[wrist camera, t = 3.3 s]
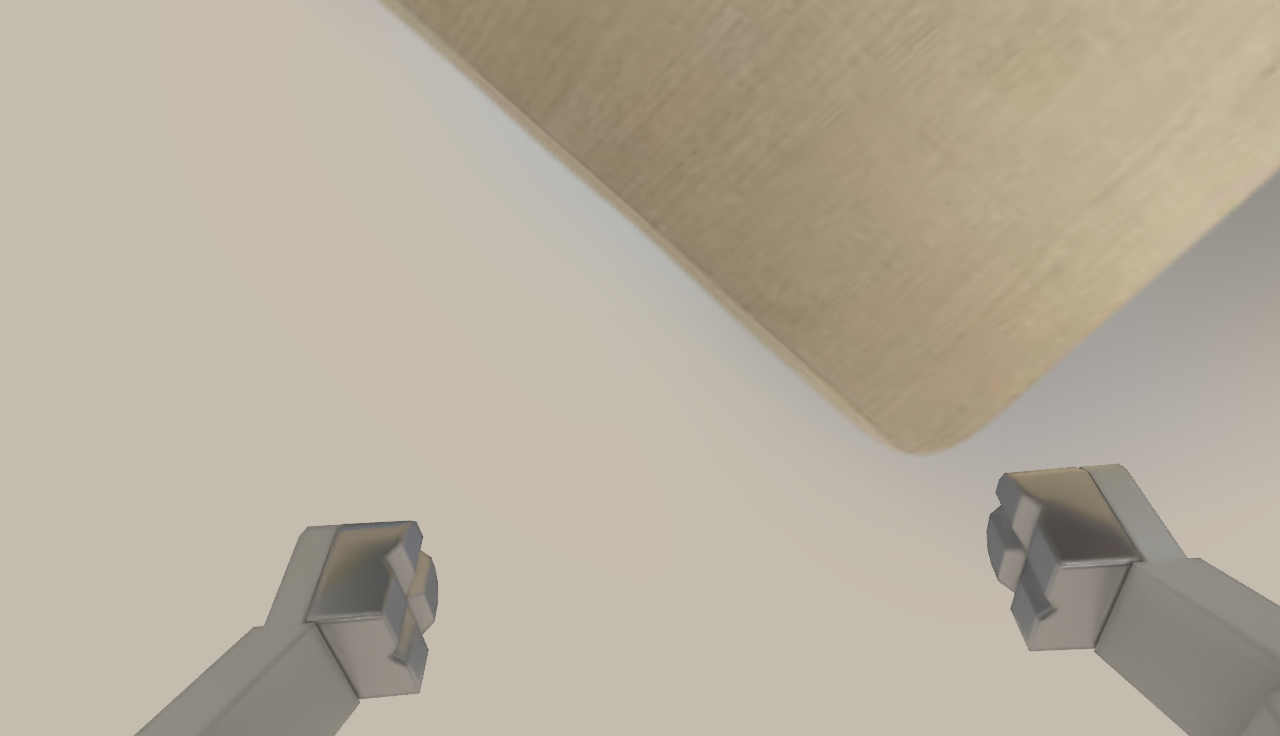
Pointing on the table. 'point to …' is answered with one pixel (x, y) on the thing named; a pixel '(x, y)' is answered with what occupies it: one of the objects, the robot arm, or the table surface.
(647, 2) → the table surface
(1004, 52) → the table surface
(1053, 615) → the robot arm
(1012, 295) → the table surface
